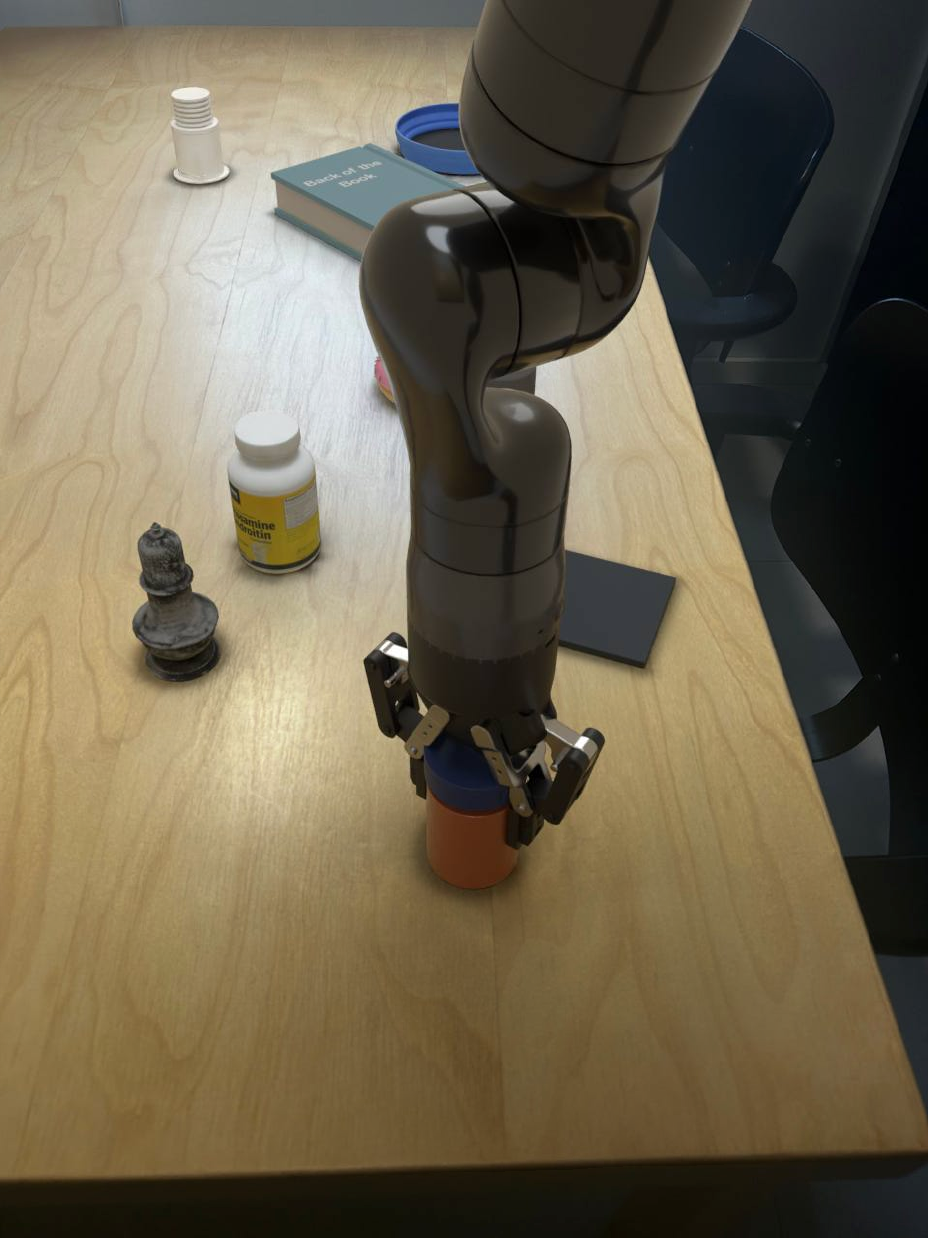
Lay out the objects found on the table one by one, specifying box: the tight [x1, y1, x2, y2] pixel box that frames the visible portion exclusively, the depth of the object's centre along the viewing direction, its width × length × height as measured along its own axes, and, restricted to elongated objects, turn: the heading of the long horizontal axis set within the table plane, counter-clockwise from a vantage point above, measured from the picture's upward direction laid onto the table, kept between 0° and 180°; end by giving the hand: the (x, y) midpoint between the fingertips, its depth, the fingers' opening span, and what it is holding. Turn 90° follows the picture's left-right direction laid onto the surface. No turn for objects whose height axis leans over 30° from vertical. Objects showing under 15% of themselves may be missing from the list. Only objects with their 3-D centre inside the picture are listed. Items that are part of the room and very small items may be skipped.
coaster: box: [558, 549, 677, 669], centre depth 83 cm, size 10×10×1 cm
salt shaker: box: [131, 521, 222, 683], centre depth 75 cm, size 6×6×12 cm
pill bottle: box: [226, 409, 322, 575], centre depth 84 cm, size 6×6×12 cm
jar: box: [425, 782, 520, 890], centre depth 64 cm, size 6×6×9 cm
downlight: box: [170, 86, 230, 185], centre depth 139 cm, size 8×7×10 cm
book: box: [270, 142, 466, 262], centre depth 131 cm, size 23×16×5 cm
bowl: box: [394, 102, 481, 175], centre depth 149 cm, size 18×18×4 cm
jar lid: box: [424, 732, 528, 811], centre depth 61 cm, size 6×6×2 cm
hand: (475, 812), depth 65 cm, fingers closed on jar, jar lid, 5 cm apart
